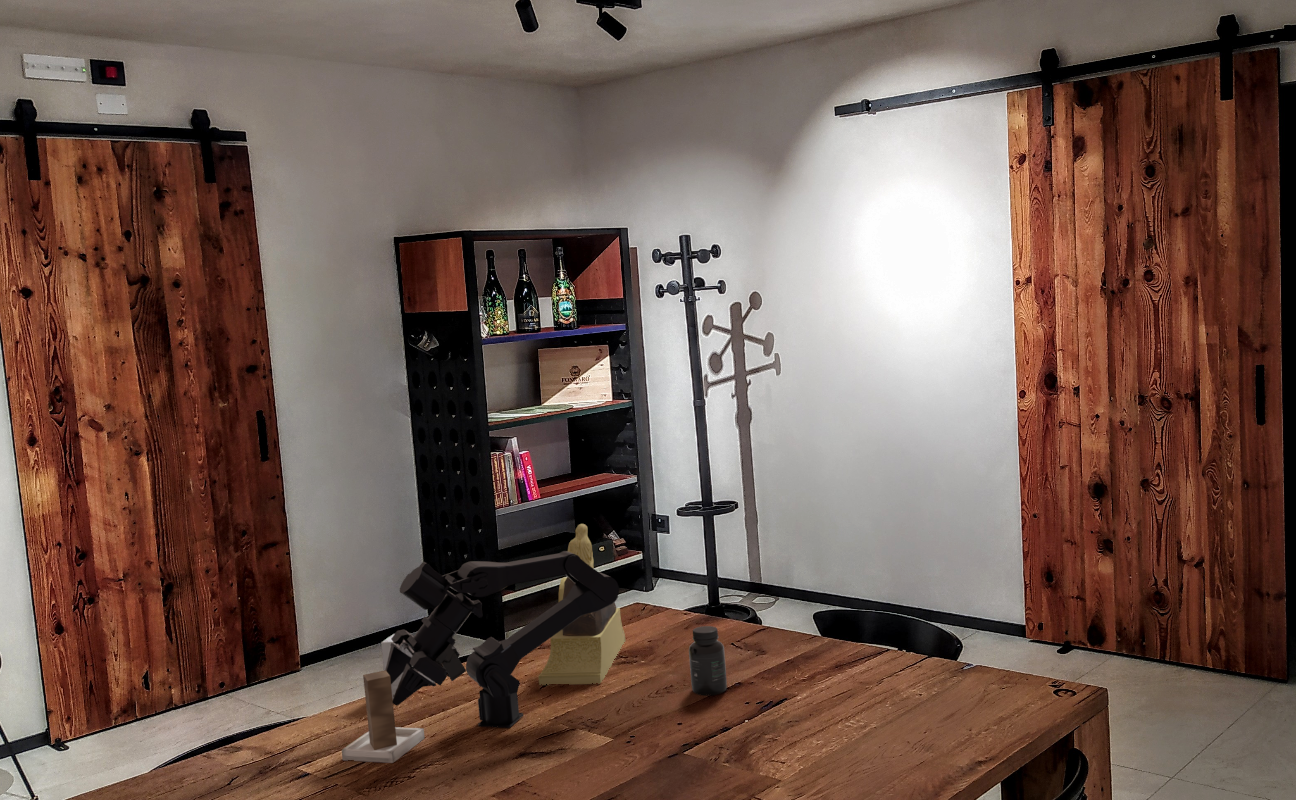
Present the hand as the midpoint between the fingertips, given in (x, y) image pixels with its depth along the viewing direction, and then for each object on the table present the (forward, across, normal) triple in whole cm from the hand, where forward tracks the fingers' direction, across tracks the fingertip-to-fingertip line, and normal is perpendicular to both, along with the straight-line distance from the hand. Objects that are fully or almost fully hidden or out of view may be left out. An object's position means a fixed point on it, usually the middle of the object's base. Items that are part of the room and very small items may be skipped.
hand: (388, 695), depth 194 cm
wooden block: (+7, 0, -5) cm, 9 cm away
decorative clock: (-24, +22, -40) cm, 52 cm away
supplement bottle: (-35, -10, -49) cm, 61 cm away
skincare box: (+3, +27, -13) cm, 30 cm away
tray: (+8, 0, -5) cm, 9 cm away
